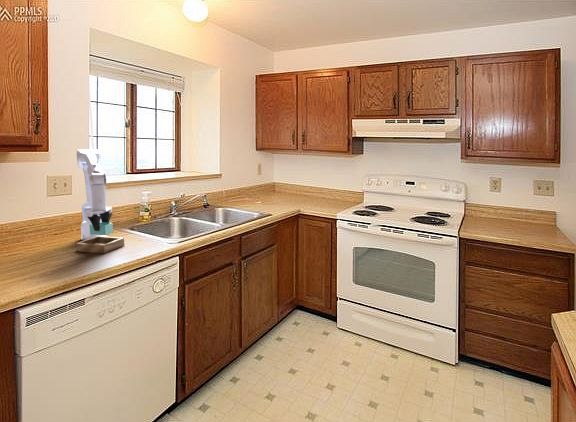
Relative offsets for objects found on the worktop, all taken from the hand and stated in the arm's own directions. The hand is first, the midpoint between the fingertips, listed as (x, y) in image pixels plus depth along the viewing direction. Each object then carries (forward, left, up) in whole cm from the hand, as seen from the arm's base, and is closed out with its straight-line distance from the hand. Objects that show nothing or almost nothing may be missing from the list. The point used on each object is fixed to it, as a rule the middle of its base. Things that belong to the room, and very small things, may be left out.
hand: (101, 229), depth 174 cm
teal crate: (0, 0, -2) cm, 2 cm away
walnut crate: (0, -1, -8) cm, 9 cm away
